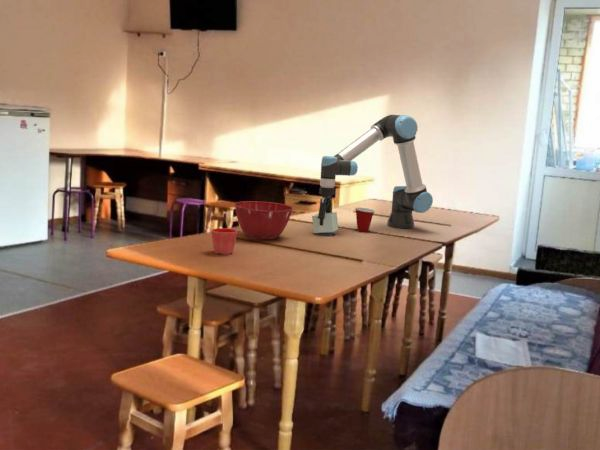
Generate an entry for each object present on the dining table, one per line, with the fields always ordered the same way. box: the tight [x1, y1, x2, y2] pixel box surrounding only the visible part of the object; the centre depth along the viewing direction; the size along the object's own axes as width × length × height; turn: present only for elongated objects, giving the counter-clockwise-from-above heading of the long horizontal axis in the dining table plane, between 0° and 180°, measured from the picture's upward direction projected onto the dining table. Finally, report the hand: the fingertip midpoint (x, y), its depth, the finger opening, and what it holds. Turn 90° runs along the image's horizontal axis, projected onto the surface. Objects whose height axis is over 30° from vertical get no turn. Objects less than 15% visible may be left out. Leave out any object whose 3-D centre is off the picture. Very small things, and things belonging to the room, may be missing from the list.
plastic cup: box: [354, 206, 376, 233], centre depth 365 cm, size 11×11×12 cm
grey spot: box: [314, 232, 334, 236], centre depth 351 cm, size 10×10×1 cm
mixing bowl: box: [233, 200, 294, 240], centre depth 330 cm, size 28×28×16 cm
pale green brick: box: [311, 211, 339, 234], centre depth 350 cm, size 10×10×9 cm
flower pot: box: [210, 227, 238, 255], centre depth 290 cm, size 11×11×10 cm
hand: (324, 230), depth 351 cm, fingers closed on pale green brick, 10 cm apart
